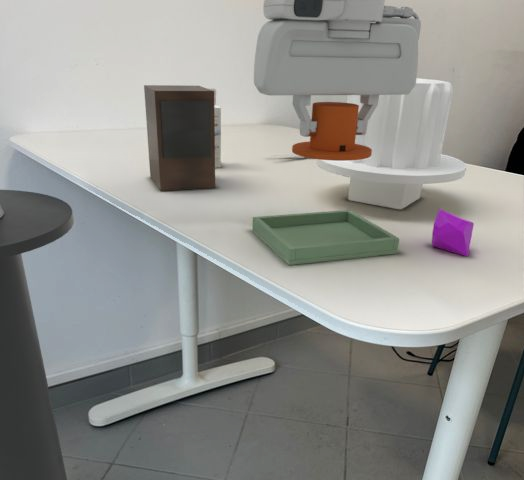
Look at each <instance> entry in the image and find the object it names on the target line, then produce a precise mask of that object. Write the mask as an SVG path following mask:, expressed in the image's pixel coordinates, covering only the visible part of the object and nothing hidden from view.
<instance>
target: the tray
mask: <svg viewBox="0 0 524 480" xmlns="http://www.w3.org/2000/svg"><path fill="white" fill-rule="evenodd" d="M251 224H252V225H251V226H252V228H251V232H253V233H254V234H255V236H257V237H258V238H259V239H260V240H261V241H262V242H263V243H264V244H265V245H266V246H268V247H269V249H271V250H272V252H274V253H275V254H276V255H277V256H278V257H280V258H281V259H282V261H284V262H285V263H286V264H287V265H288V266H293V265H303V264H311V263H312V264H313V263H321V262H330V261H331V262H332V261H339V260H349V259H359V258H368V257H376V256H377V257H378V256H386V255H395V254H398V251H399V244H400V237H398V236H396V235H394V234H392V233H391V232H389V231H388V230H387V229H385V228H382V227H380V226H379V225H377V224H375V223H373V222H372V221H370V220H369V219H367V218H365V217H363V216H362V215H360V214H358V213H356V212H354V211H353V210H351V209H343V210H330V211H316V212H301V213H289V214H276V215H262V216H252V223H251Z"/></svg>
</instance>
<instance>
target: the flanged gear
mask: <svg viewBox="0 0 524 480" xmlns="http://www.w3.org/2000/svg"><path fill="white" fill-rule="evenodd" d="M453 95H454V87H453V85H452V83H451V82H450V81H446V80H445V81H444V80H440V79H439V80H438V79H430V78H419V77H417V79H416V84H415V87H414V88H413V89H412V91H411V92H410V93H409V94H408V95H379V100H378V106H377V107H376V109H375V111H374V112H373V114H372V115H371V117H370V119H369V120H368V122H367V130H366V134H365V135H356V137H355V144H359V145H363V146H367V147H369V148H371V149H372V154H371V156H370V157H369V158H366V159H360V160H349V161H334V160H320V159H315V160H316V161H315V164H316V166H317V167H318V168H320V170H324V171H326V172H328V173H331V174H334V175H337V176H341V177H346V178H349V184H348V195H347V200H348V201H351V202H355V203H361V204H368V205H373V206H378V207H383V208H389V209H393V210H403V209H405V208H406V207H408V206H409V205H411V204H413V203H414V202H416V201H418V200H419V199H420V198H421V193H422V188H423V185H434V184H442V183H443V184H444V183H449V182H455V181H458V180H460V179H463V178H464V177H465V175H466V171H467V164H466V163H465V162H464V161H462V159H460V158H459V159H458V158H456V157H453V156H451V155H447V154H443V153H442V152H443V148H444V147H443V146H444V142H445V137H446V131H447V125H448V121H449V115H450V110H451V105H452V101H453ZM360 96H361V95H347V99H346V103H352V104H357V105H359V110H358V114H359V112H360V110H361V108H362V106H363V104H362V103H360Z"/></svg>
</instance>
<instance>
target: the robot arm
mask: <svg viewBox="0 0 524 480" xmlns="http://www.w3.org/2000/svg"><path fill="white" fill-rule="evenodd" d="M385 1H386V0H264V1H263V7H262V8H263V17H264V18H265V19H267V20H269V21H266V22H265V23H264V24H263V25H262V26H261V28H260V30H259V32H258V35H257V40H256V47H255V53H254V54H255V55H254V64H253V65H254V66H253V84H254V86H255V88H256V90H257V91H258V92H259V94H262V95H264V96H292V107H293V108H294V111H295V112H296V115H297V117H298V119H299V122H300V123H299V134H300V135H299V136H300V137H306V138H308V137H309V138H310V136H316V132H317V131H316V128H317V121H315V120H312V118H311V117H310V114H309V111H308V108H307V107H309V106H311V101H312V96H348V95H361V96H360V103H362V104H363V106H362V108H361V110H360V112H359V114H358V119H357V128H356V135H365V134H366V130H367V122H368V120H369V119H370V117H371V115H372V114H373V112H374V111H375V109H376V107H377V106H378V100H379V95H408V94H409V93H410V92H411V91H412V89H413V88H414V87H415V84H416V79H417V78H418V65H419V39H420V34H421V27H422V21H421V19H420V17H419V15H418V14H417V13H416V12H414V10H413V9H414V8H412V7H409V6H401V7H399V6H398V7H397V6H392V5H385ZM412 17H413V18H412ZM3 215H4V211H3V209H2V207H1V206H0V218H1V217H2V216H3Z"/></svg>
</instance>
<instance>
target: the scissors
mask: <svg viewBox="0 0 524 480" xmlns="http://www.w3.org/2000/svg"><path fill="white" fill-rule="evenodd" d="M272 157H281V158H280V160H283V159H284V160H285V159H293V158H303V157H302V156H299V155H296V154H275V155H273V154H272Z"/></svg>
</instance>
